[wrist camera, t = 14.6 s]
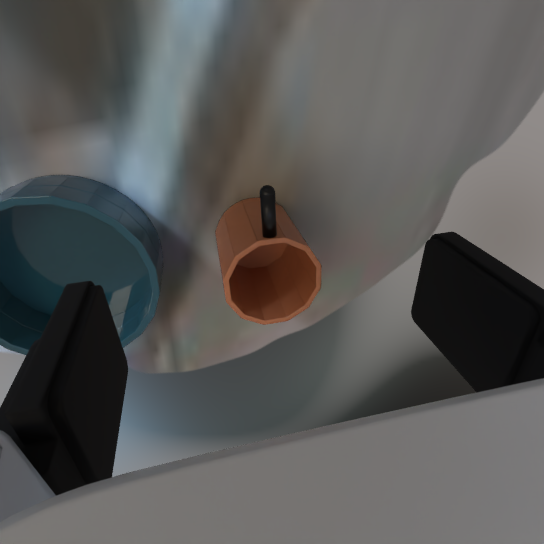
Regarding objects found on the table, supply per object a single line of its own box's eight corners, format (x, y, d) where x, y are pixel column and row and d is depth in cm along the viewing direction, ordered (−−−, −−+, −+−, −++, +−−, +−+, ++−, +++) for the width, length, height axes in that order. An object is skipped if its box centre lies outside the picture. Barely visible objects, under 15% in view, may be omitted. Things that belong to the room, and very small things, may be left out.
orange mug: (292, 263, 36) (320, 315, 29) (220, 273, 35) (230, 330, 28) (290, 153, 31) (323, 182, 23) (205, 161, 30) (211, 194, 22)
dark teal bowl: (-44, 280, 31) (-85, 319, 26) (22, 136, 27) (-13, 152, 22) (118, 341, 37) (108, 382, 32) (192, 232, 33) (193, 260, 28)
